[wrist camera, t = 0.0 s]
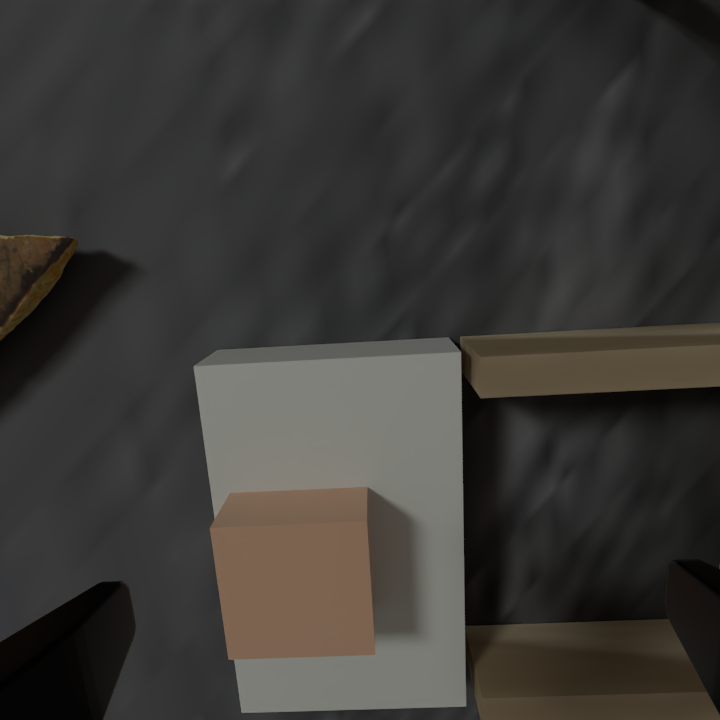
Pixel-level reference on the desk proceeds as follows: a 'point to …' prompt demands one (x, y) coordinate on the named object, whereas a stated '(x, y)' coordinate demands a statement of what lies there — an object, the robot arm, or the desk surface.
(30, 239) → the shard
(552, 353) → the box
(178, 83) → the desk surface
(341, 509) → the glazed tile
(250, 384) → the plate
